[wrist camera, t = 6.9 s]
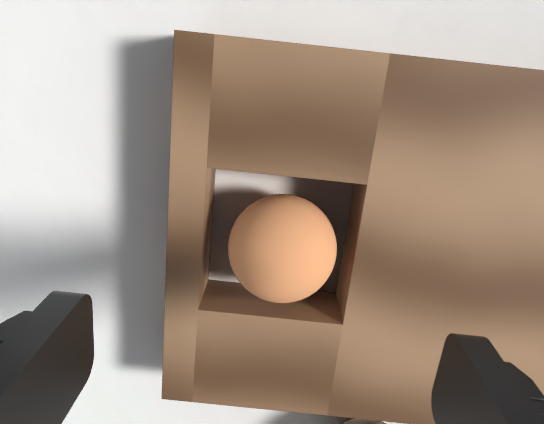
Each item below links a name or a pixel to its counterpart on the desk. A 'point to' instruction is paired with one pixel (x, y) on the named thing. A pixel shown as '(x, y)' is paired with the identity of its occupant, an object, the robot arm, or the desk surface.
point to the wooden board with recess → (356, 223)
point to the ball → (282, 248)
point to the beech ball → (363, 421)
